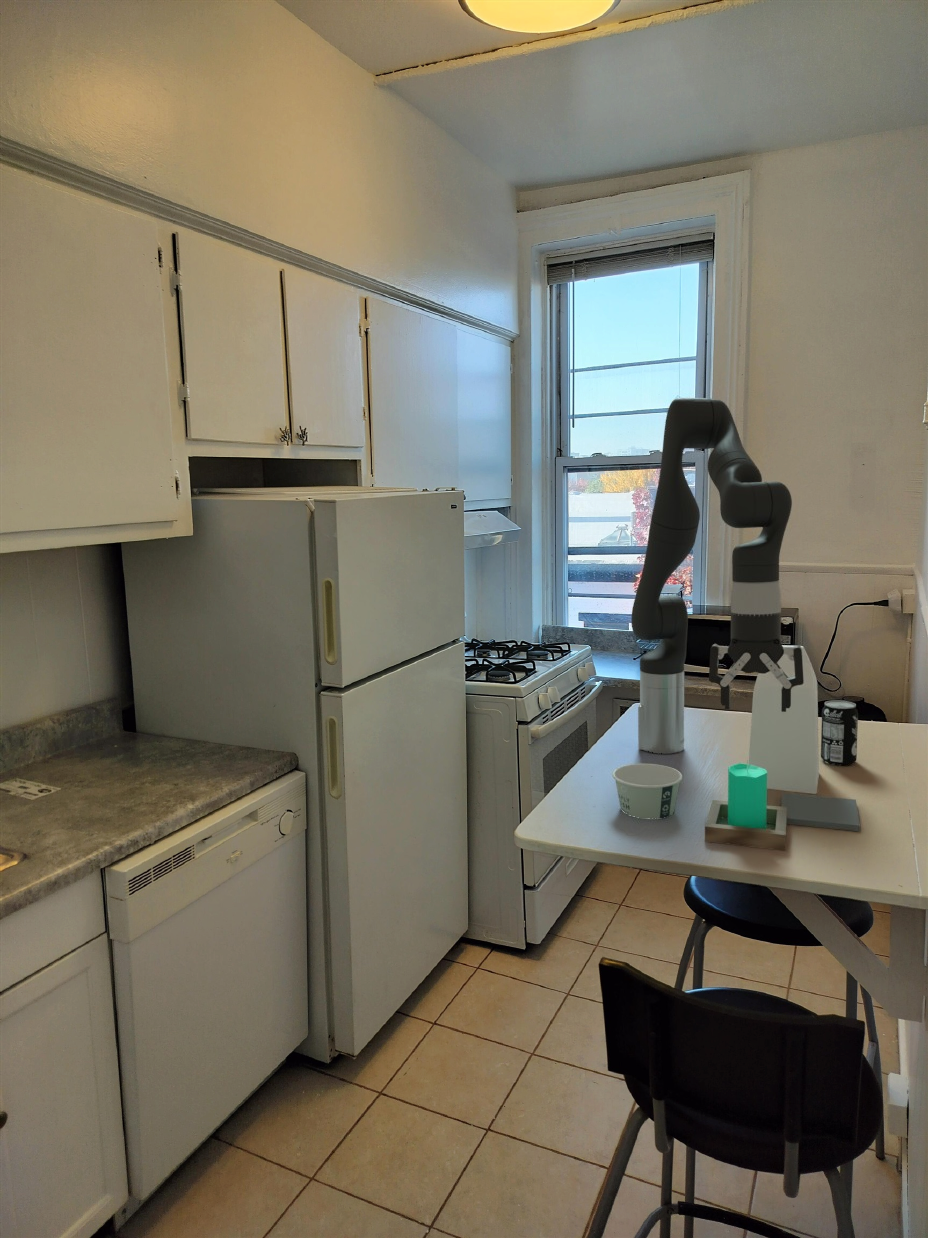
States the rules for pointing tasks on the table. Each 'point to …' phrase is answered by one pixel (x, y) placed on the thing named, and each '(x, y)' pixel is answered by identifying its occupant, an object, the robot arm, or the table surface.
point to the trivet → (821, 811)
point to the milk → (786, 730)
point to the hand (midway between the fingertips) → (755, 709)
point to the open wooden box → (746, 828)
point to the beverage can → (839, 733)
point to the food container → (647, 789)
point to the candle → (747, 796)
